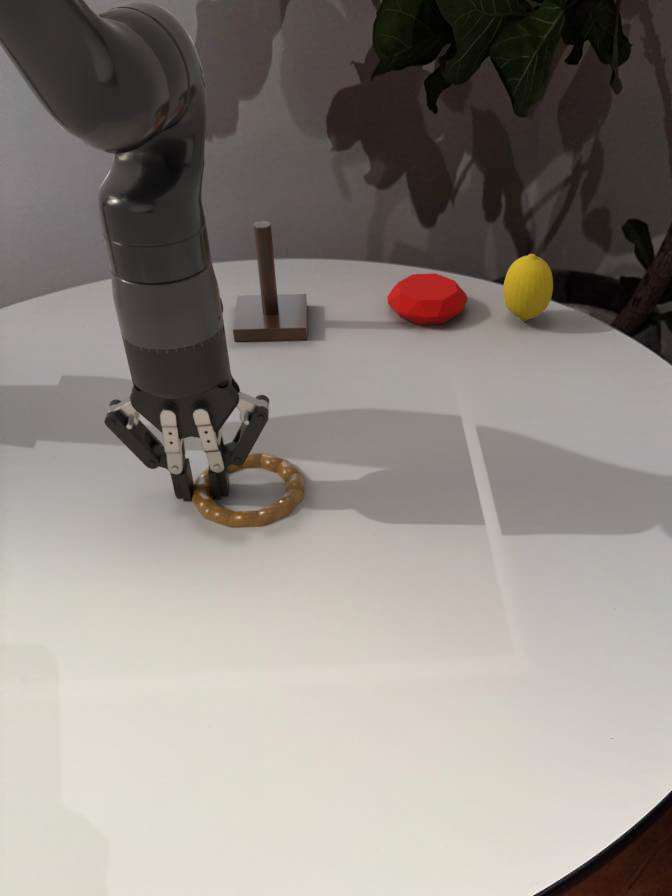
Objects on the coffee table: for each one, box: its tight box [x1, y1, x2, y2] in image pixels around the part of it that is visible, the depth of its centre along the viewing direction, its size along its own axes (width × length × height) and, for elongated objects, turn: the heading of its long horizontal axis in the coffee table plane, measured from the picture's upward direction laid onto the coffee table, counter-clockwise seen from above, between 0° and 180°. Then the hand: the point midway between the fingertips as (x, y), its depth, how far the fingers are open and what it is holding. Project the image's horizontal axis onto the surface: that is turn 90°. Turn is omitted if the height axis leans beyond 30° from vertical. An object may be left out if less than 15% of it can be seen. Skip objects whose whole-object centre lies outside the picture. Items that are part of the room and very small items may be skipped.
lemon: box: [502, 253, 554, 322], centre depth 98 cm, size 6×6×8 cm
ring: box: [191, 452, 305, 529], centre depth 76 cm, size 10×10×2 cm
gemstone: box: [386, 272, 468, 326], centre depth 101 cm, size 9×9×3 cm
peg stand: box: [232, 220, 308, 343], centre depth 96 cm, size 8×8×12 cm
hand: (204, 498), depth 76 cm, fingers closed
